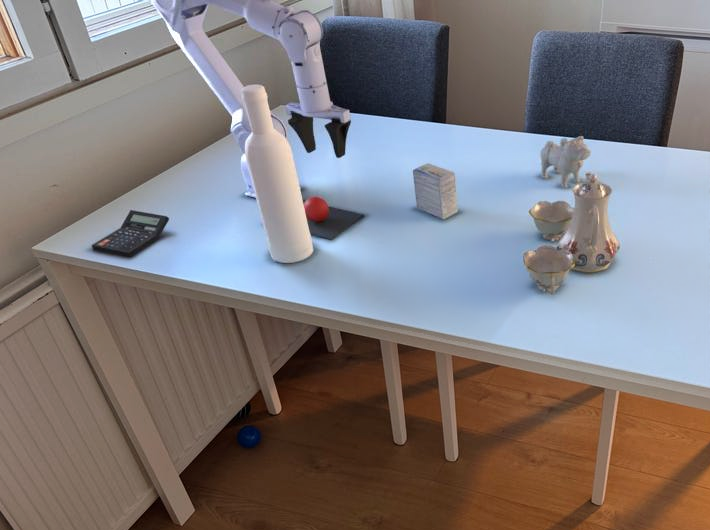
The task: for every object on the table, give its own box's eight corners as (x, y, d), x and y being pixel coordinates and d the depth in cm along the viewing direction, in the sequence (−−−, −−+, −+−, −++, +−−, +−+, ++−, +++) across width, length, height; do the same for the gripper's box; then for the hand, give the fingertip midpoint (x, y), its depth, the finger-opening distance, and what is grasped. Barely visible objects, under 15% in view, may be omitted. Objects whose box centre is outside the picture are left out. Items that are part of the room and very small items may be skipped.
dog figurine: (576, 194, 140) (579, 144, 133) (535, 175, 148) (536, 128, 141) (594, 187, 142) (598, 138, 135) (553, 169, 150) (555, 121, 143)
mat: (268, 224, 134) (267, 222, 134) (303, 202, 142) (303, 200, 141) (330, 240, 128) (330, 238, 128) (364, 216, 135) (364, 214, 135)
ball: (300, 224, 133) (295, 199, 130) (317, 216, 136) (312, 192, 134) (319, 226, 130) (314, 201, 128) (336, 218, 134) (331, 194, 132)
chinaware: (524, 231, 131) (515, 149, 121) (610, 221, 129) (608, 138, 119) (528, 313, 109) (517, 222, 99) (631, 303, 107) (631, 209, 97)
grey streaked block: (458, 212, 135) (456, 172, 130) (443, 220, 133) (439, 179, 127) (431, 202, 139) (428, 162, 134) (416, 209, 137) (411, 169, 131)
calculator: (93, 249, 129) (86, 235, 127) (137, 222, 137) (132, 209, 135) (130, 256, 126) (124, 242, 124) (173, 228, 134) (168, 215, 132)
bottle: (322, 248, 125) (288, 84, 107) (293, 267, 120) (251, 98, 102) (292, 239, 129) (253, 77, 110) (262, 257, 124) (216, 91, 105)
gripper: (354, 81, 126) (366, 151, 135) (296, 75, 132) (311, 142, 140) (331, 92, 121) (345, 164, 130) (271, 85, 127) (288, 154, 136)
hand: (326, 153), depth 135 cm, fingers open, 7 cm apart
